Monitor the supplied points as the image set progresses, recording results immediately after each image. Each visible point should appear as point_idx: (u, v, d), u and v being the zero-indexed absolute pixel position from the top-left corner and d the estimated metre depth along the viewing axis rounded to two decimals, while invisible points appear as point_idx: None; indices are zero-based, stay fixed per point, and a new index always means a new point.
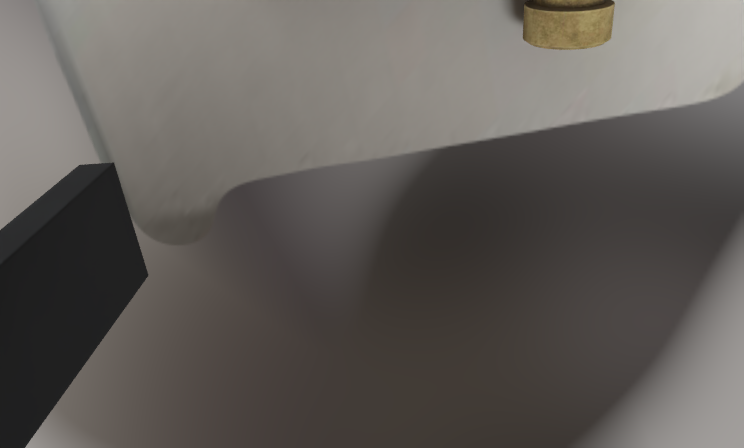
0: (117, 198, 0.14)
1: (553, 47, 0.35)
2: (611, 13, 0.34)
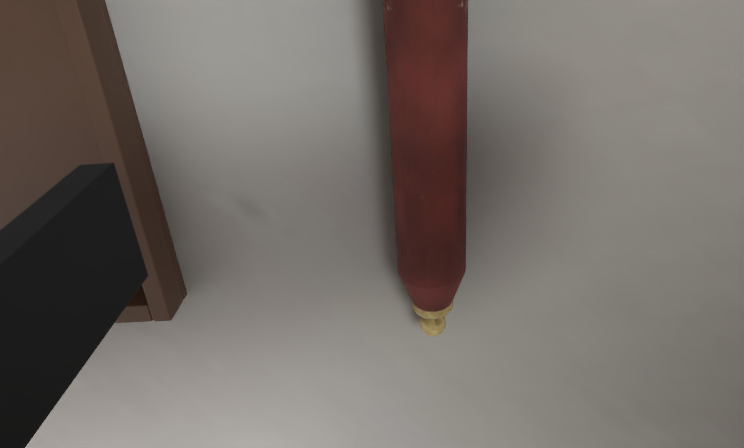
0: (117, 198, 0.14)
1: None
2: None
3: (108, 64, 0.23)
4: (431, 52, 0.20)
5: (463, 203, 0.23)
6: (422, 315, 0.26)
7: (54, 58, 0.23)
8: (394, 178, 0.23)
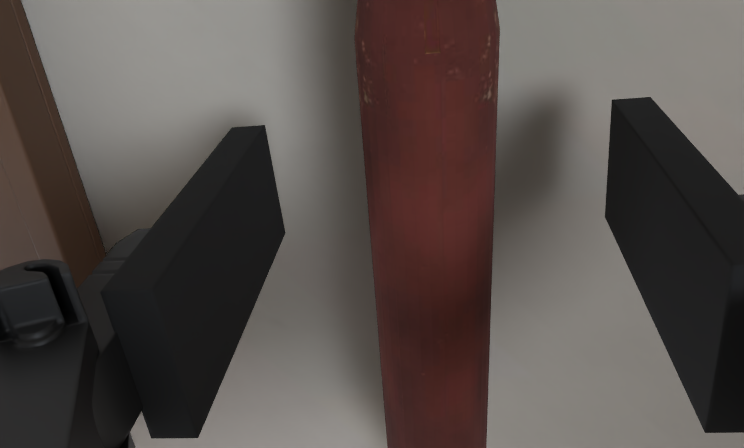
0: (267, 158, 0.15)
1: None
2: None
3: (36, 120, 0.17)
4: (437, 172, 0.12)
5: (485, 374, 0.15)
6: None
7: None
8: (380, 338, 0.15)
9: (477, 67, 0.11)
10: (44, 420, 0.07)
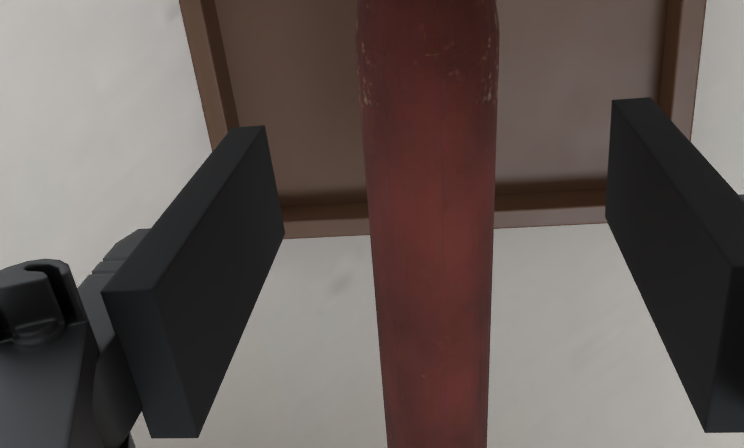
0: (267, 159, 0.15)
1: None
2: None
3: None
4: (437, 174, 0.12)
5: (485, 376, 0.15)
6: None
7: None
8: (380, 340, 0.15)
9: (476, 69, 0.11)
10: (44, 420, 0.07)
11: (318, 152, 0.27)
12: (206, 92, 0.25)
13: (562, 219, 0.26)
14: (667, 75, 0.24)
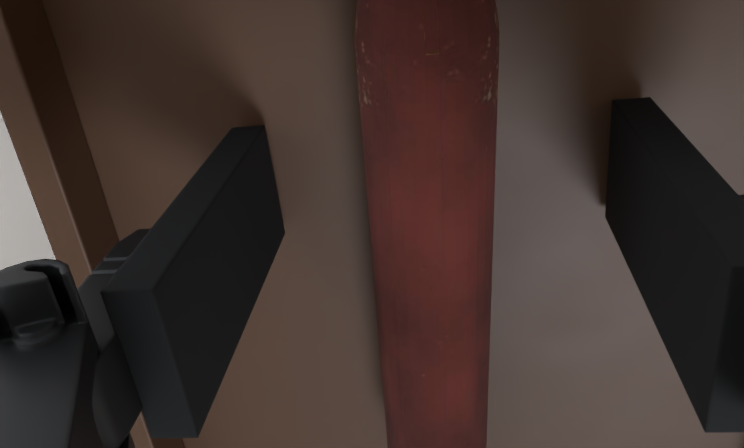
0: (267, 158, 0.15)
1: None
2: None
3: None
4: (437, 173, 0.12)
5: (485, 375, 0.15)
6: None
7: None
8: (380, 339, 0.15)
9: (477, 68, 0.11)
10: (44, 420, 0.07)
11: None
12: None
13: None
14: None
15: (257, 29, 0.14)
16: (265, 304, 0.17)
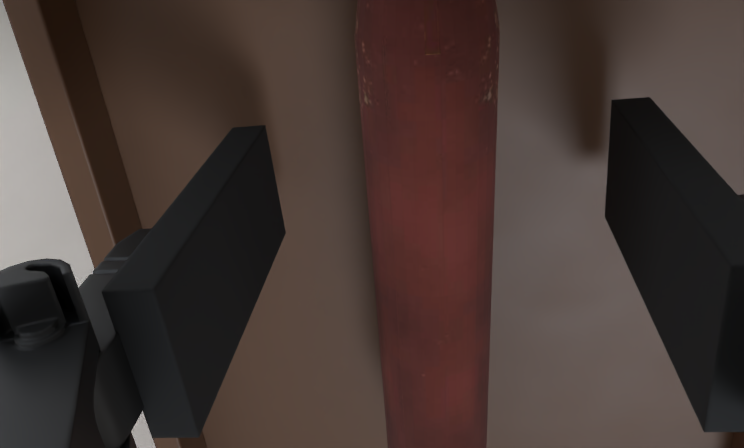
0: (268, 158, 0.15)
1: None
2: None
3: None
4: (437, 173, 0.12)
5: (485, 375, 0.15)
6: None
7: None
8: (380, 339, 0.15)
9: (477, 68, 0.11)
10: (45, 420, 0.07)
11: None
12: None
13: None
14: None
15: (271, 23, 0.15)
16: (276, 281, 0.18)
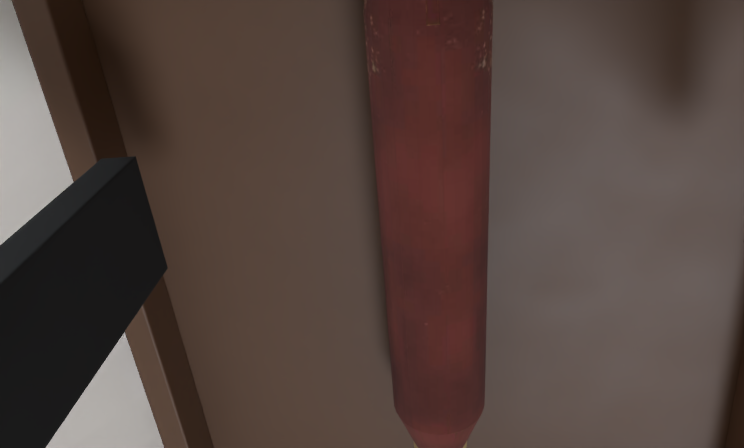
0: (139, 192, 0.14)
1: None
2: None
3: None
4: (438, 133, 0.13)
5: (483, 326, 0.17)
6: None
7: None
8: (387, 293, 0.16)
9: (472, 38, 0.12)
10: None
11: (302, 445, 0.22)
12: (158, 405, 0.20)
13: None
14: None
15: (273, 11, 0.15)
16: (278, 268, 0.19)
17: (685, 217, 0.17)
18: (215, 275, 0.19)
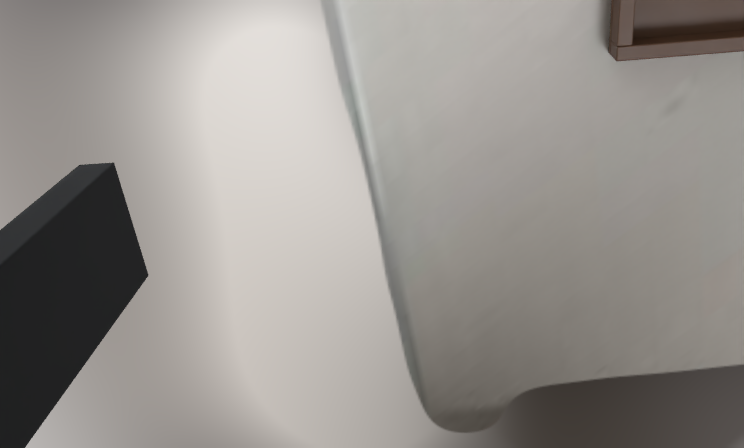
0: (117, 198, 0.14)
1: None
2: None
3: None
4: None
5: None
6: None
7: None
8: None
9: None
10: None
11: None
12: None
13: None
14: None
15: None
16: None
17: None
18: None
